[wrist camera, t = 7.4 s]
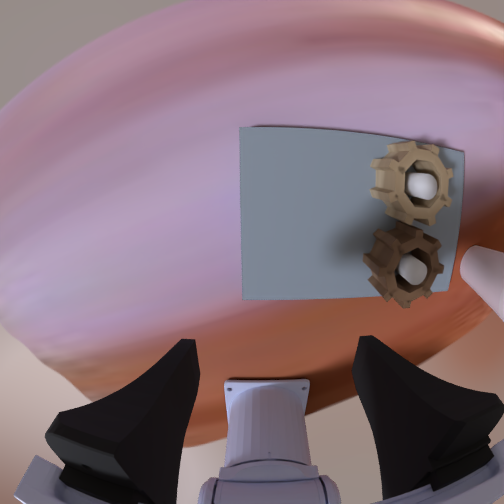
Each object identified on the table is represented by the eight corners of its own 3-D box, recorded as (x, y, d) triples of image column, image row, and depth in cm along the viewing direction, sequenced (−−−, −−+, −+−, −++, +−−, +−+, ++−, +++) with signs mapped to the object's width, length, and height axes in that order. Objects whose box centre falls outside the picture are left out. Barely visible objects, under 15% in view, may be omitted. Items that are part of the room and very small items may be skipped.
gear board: (440, 285, 21) (469, 308, 16) (243, 292, 21) (239, 325, 17) (455, 152, 17) (491, 153, 13) (240, 130, 18) (235, 117, 13)
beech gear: (427, 218, 18) (449, 227, 15) (367, 215, 18) (385, 224, 15) (430, 149, 16) (453, 149, 14) (369, 139, 16) (388, 136, 14)
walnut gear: (426, 273, 19) (446, 287, 16) (372, 299, 20) (386, 318, 17) (415, 212, 18) (437, 220, 15) (355, 237, 19) (371, 250, 16)
